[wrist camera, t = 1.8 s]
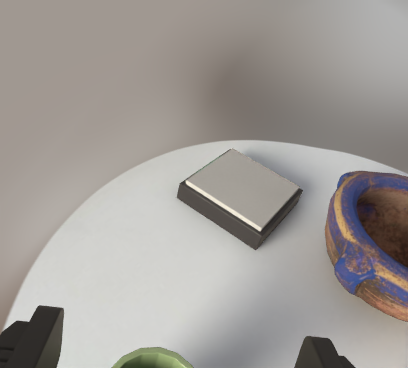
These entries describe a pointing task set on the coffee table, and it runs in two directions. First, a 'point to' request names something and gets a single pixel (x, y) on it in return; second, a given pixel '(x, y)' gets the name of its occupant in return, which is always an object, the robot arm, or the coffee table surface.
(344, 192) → the bowl
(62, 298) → the coffee table surface
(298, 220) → the coffee table surface
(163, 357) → the light green cup
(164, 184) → the coffee table surface
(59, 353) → the robot arm
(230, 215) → the kitchen scale
